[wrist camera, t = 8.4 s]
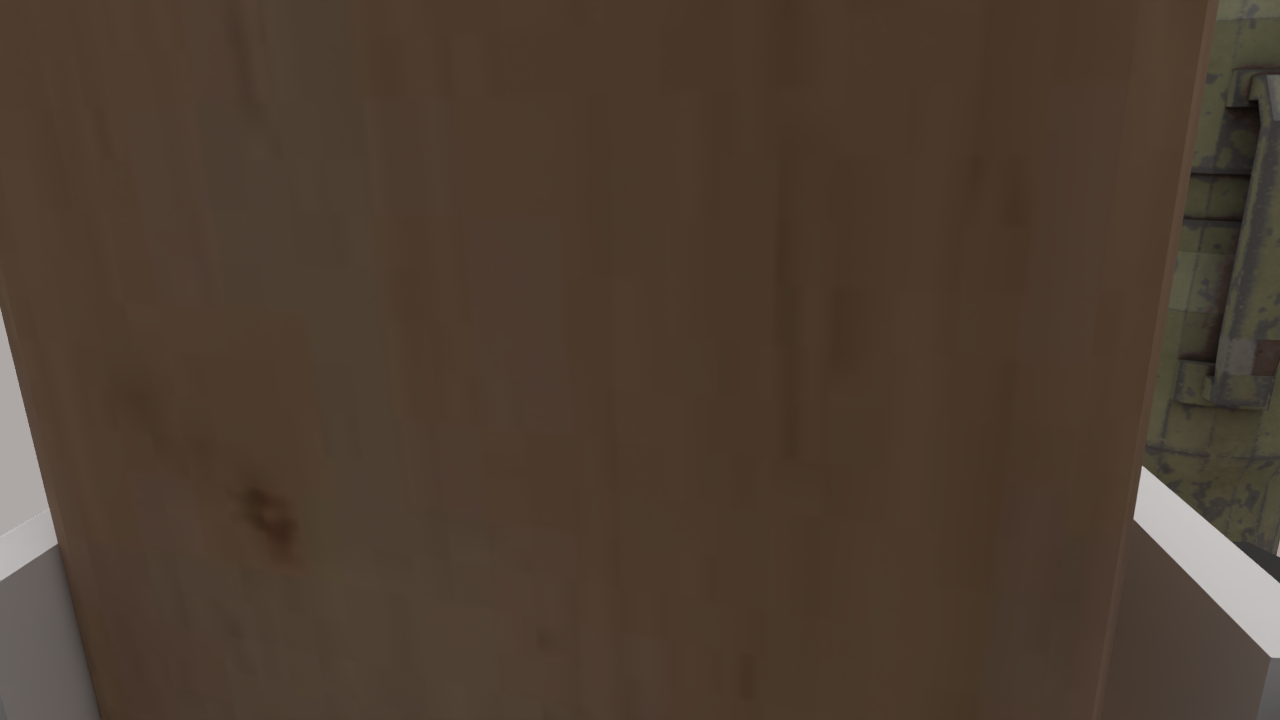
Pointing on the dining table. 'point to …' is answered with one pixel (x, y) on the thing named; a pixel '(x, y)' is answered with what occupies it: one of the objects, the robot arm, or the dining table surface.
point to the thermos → (1228, 295)
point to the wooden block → (594, 347)
